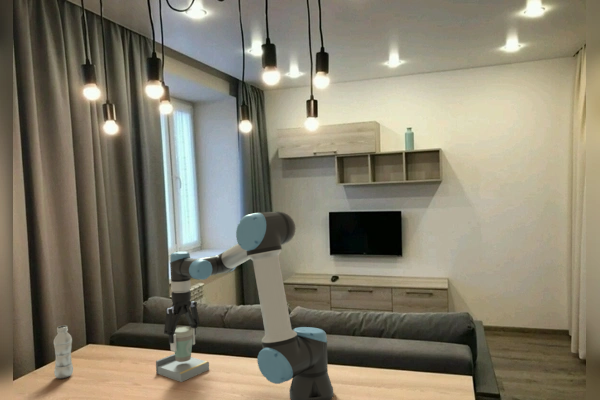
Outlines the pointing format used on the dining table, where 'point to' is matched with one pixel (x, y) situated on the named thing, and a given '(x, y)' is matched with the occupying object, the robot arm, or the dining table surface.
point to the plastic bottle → (63, 353)
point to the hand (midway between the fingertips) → (183, 347)
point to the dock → (180, 368)
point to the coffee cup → (183, 343)
